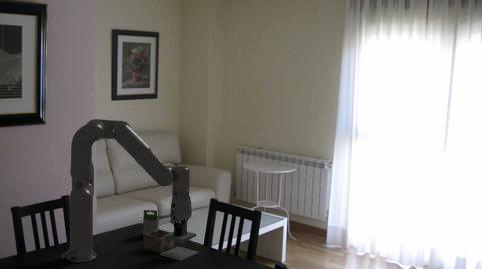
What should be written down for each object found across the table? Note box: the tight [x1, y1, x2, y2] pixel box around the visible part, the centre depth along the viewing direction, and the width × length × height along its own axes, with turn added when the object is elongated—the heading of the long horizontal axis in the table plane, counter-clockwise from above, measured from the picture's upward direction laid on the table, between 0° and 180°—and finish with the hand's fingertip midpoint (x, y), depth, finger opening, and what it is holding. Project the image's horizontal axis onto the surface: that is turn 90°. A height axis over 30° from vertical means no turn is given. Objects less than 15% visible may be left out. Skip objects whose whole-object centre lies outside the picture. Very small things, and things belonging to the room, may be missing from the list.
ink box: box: [142, 209, 160, 237], centre depth 273 cm, size 7×4×13 cm, turn 84°
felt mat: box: [159, 246, 200, 262], centre depth 249 cm, size 13×12×1 cm
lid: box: [164, 221, 197, 244], centre depth 247 cm, size 10×10×7 cm
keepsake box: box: [143, 228, 176, 255], centre depth 255 cm, size 10×10×7 cm
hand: (180, 234), depth 247 cm, fingers closed on lid, 3 cm apart
